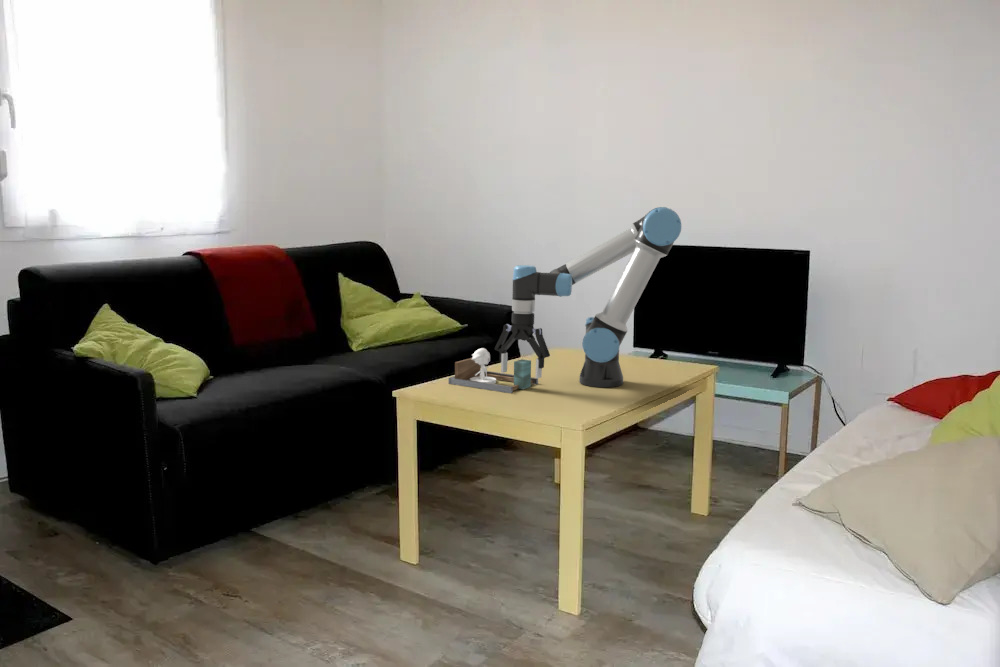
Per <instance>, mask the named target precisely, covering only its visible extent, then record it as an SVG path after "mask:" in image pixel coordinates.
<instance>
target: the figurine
mask: <svg viewBox="0 0 1000 667" xmlns="http://www.w3.org/2000/svg"><path fill="white" fill-rule="evenodd" d="M471 356H472V357H471V358H472V359H471V360H474V361H475V363H478V364H479V365H481V370H480V371H479V372H478V373H476V374H475V376H476V375H477V374H479V373H480V372H481V373H480V377H472V378H470V379H469V380H472V381H478V382H485V383H491V384H497V379H496V378H493V377H487V371H488V367H487V366H488V364H489V362H490V361H491V354H490V352H489V351H488V350H487V348H485V347H481V348H478V349H477V350H475V351H474V353H472V354H471ZM484 372H486V376H485V375H484Z"/></svg>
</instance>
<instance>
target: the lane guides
mask: <svg viewBox="0 0 1000 667" xmlns="http://www.w3.org/2000/svg"><path fill="white" fill-rule="evenodd" d="M484 373H486V372H484ZM487 374H493V375H500V376H507V377H514V374H511V373H506V372H504V373H501V372H498V371H497V372H496V371H489V370H487ZM531 380H533V384H532V385H539V378H535V377H532V376H531ZM448 384H449V385H456V386H460V387H461V386H462V387H468V388H476V389H480V390H487V391H488V390H489V391H494V392H498V393H499V392H501V393H507V394H513V391H512V389H513V387H511V386H512V385H505V386H504V384H503V385H502V384H498V385H497V383H495V384H491V383H484V382H478V381H471V380H470V379H469V380H465V379H458V378H455V375H454V376H450V377H448Z"/></svg>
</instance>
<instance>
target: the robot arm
mask: <svg viewBox="0 0 1000 667" xmlns="http://www.w3.org/2000/svg"><path fill="white" fill-rule="evenodd" d="M681 220H682V219H681V218H680V216H679V215H678V213H677V212H676V211H675V210H673V209H672V208H668V207H665V206H663V207H662V206H659V207H658V206H657V207H654V208H653V209H651V210H649V211H648V212H647V213H646V214H645V215H644V216H643V217H641V218H640V219H638V220H636V221H634V222H633V223H632V224H631V227H630V228H627V229H626V230H625V231H623V232H620V233H619V234H617V235H616V236H614V237H612V238H610V239H608V240H607V241H604V242H603V243H601V244H598V245H597V246H595V247H594V248H592V249H590V250H588V251H585V252H584V253H583V254H580V255H579V256H577V257H575V258H574V259H571V260H570V261H568V262H567V263H565V264H563V265H560V266H559V267H557V268H554V269H552V270H551V271H549V272H539V271H538V270H537V267H536V266H534V265H529V264H528V265H526V264H522V265H521V264H520V265H516V266H514V267H513V273H512V274H513V275H512V297H511V298H512V300H511V301H512V302H511V311H512V313H511V325H510V323H506V324H504V325H503V328H502V331H501V334H500V335H499V338H498V341H497V342H496V344H495V345H494V346H495V347H494V350H495V351H497V352H498V353H499V362H500V373H507V372H508V358H509V357H508V355H509V353H508V352H507V350H508V349H509V348H510V347H511V346H512V345H513V343H514V342H515V341H516V340H518V341H519V340H521V341H526V342H527V343H528V344H529V345H530V348H532V350H533V352H534V353H535V354H536V356H537V358H536V359H535V376H534V378H538V379H539V378H542V375H543V374H542V373H543V372H542V371H543V369H544V368H545V359H546V358H549V357H550V356H551V355H550V351H549V348H548V345H547V343H546V341H545V338H544V335H543V328H541V327H539V328H534V325H535V313H534V312H535V306H536V296H549V297H551V296H552V297H570V296H571V295H572V292H573V291H572V289H573V285H575V284H577V283H579V282H580V281H582V280H584V279H587V278H588V277H589V276H592V275H593V274H595V273H597V272H600V271H601V270H604V269H605V268H607V267H608V266H610V265H612V264H614V263H616V262H618V261H620V260H622V259H623V258H625V257H627V256H629V255H630V258H629V260H628V261H627V263H626V266H624V269H623V271H622V273H621V276H620V277H619V279H618V281H617V283H616V284H615V287H614V288H613V290H612V293H611V295H610V296H609V299H608V300H607V302H606V304H605V307H604V308H603V310H602V311H601V312H599V313H597V314H595V316H589V317H587V318H586V321H585V324H584V326H585V334H584V336H583V338H582V349H583V351H584V362H583V365H582V369H581V371H580V374H579V380H578V381H579V383H580V384H581V385H583V386H587V387H593V388H594V387H595V388H615V386H616V387H619V386H623V384H624V374H623V371H622V368H621V364H620V360H619V359H620V346H621V344H622V342H623V340H624V339H625V337H626V335H627V333H628V330H629V329H628V327H627V322H628V320H629V319H630V317H631V315H632V313H633V311H634V309H635V307H636V305H637V303H638V302H639V299H640V298H641V296H642V294H643V292H644V290H645V289H646V287H647V285H648V282H649V280H650V278H651V277H652V275H653V272H654V271H655V269H656V267H657V265H658V264H659V262H660V259H661V258H664V257H666V256H668V255H669V252H670V250H671V249H672V247H673V245H674V244H675V242H676V240H677V239H678V238H679V236H680V234H681V231H682V221H681ZM510 332H511V333H512V334H511V335H510V336H509V334H510ZM534 335H535V336H534ZM508 336H509V338H508ZM507 338H508V339H507Z"/></svg>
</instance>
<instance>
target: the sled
mask: <svg viewBox="0 0 1000 667" xmlns="http://www.w3.org/2000/svg"><path fill="white" fill-rule="evenodd" d="M472 358H473V357H470V358H466V359H463V360H459V361H455V362H454V376H455V378H458V379H465V380H470V378H472V377H480V373H481V372H480V373H479V374H477V375H476V376H475V374H476V373H478V372H479V371H480V370H481V365H479V364H478V363H475V361H474V360H471V359H472ZM531 373H532V360H530V359H522V358H521V359H518V360H515V361H513V375H514V377H507V376H500V375H493V374H487V377H493V378H496V380H499V381H500V380H501V381H507V382H513V385H510V386H511V387H513V389H512V392H513V391H516V390H519V389H520V390H524V389H528V388H531V385H534V384H533V380H531V377H532V374H531ZM484 375H485V376H486V373H484ZM471 381H472V380H471ZM484 383H485V382H484ZM496 384H497V383H496ZM497 385H499V384H497ZM503 385H504V384H503ZM504 386H506V385H504Z"/></svg>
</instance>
